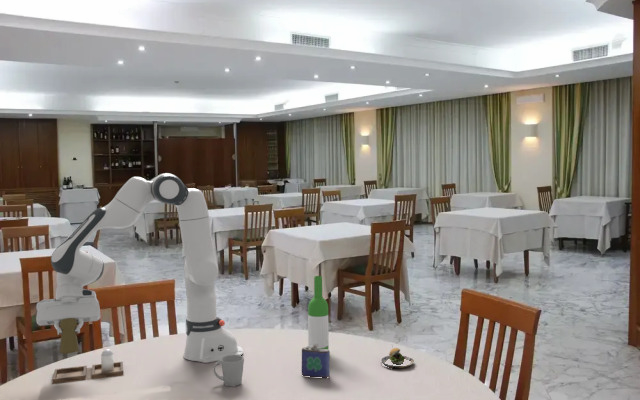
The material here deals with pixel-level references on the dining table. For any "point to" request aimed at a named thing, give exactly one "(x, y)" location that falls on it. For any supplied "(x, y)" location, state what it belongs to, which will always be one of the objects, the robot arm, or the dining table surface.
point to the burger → (396, 358)
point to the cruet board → (85, 373)
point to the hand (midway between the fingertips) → (68, 333)
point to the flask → (315, 362)
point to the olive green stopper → (68, 336)
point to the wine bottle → (318, 318)
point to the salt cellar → (107, 361)
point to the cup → (231, 369)
